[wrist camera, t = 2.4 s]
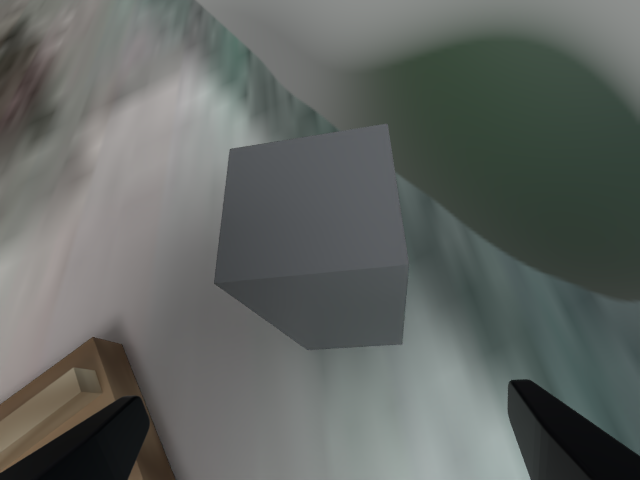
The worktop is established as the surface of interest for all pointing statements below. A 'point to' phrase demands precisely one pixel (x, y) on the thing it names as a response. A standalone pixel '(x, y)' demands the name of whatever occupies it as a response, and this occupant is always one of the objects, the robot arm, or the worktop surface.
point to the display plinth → (76, 406)
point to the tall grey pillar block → (317, 238)
